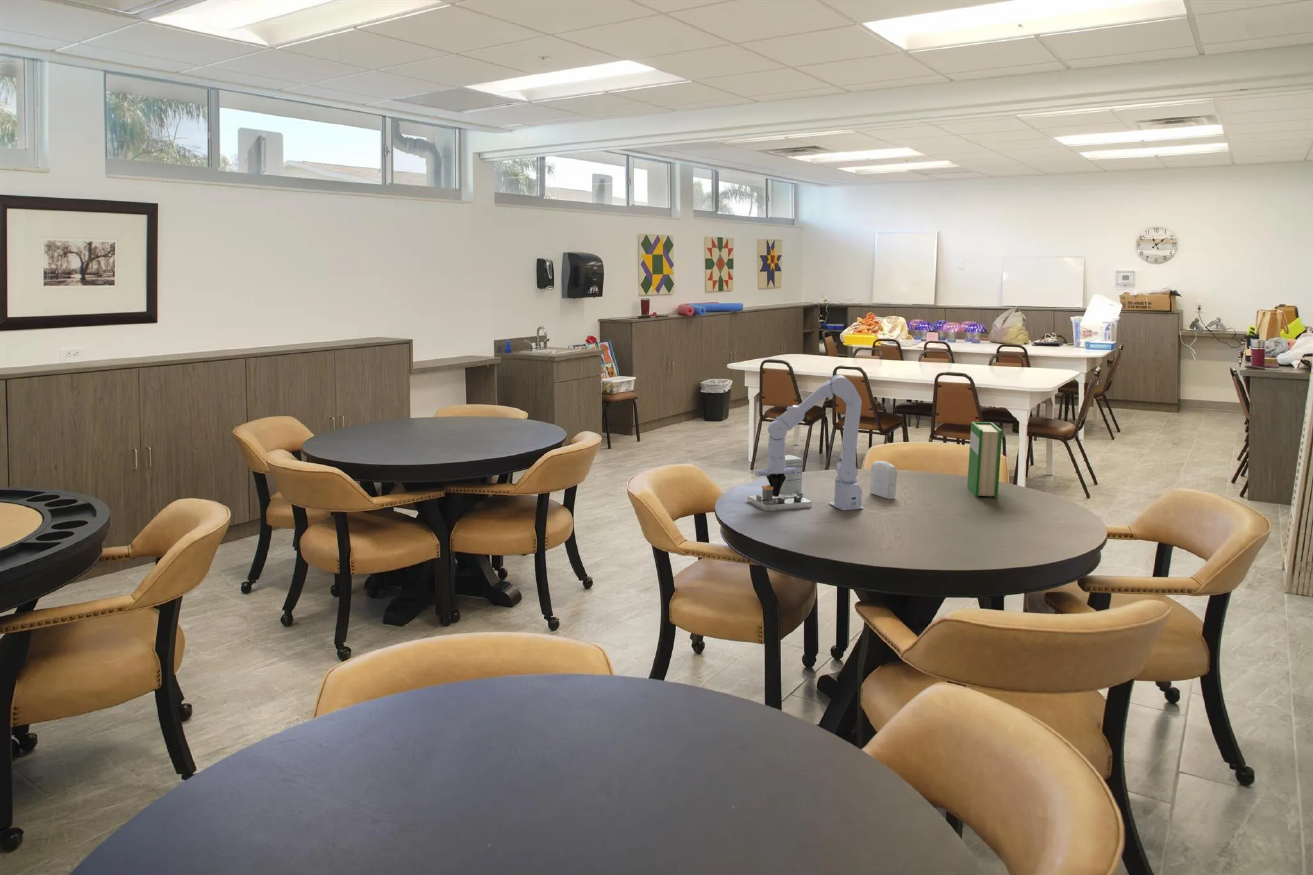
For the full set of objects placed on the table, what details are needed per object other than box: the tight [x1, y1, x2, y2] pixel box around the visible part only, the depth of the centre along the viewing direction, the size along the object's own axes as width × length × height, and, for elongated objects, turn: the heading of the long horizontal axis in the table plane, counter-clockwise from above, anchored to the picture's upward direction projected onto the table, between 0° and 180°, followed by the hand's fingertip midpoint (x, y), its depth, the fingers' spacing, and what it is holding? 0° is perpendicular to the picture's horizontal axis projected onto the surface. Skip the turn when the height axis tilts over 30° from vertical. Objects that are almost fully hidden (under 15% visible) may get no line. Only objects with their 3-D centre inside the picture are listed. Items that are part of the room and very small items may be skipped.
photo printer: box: [869, 460, 898, 500], centre depth 327 cm, size 10×4×12 cm, turn 28°
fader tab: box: [761, 484, 773, 500], centre depth 314 cm, size 3×3×4 cm
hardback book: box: [966, 421, 1003, 499], centre depth 332 cm, size 18×7×24 cm, turn 171°
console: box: [747, 491, 813, 512], centre depth 316 cm, size 14×17×4 cm
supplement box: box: [779, 454, 804, 494], centre depth 333 cm, size 7×7×13 cm
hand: (775, 496), depth 315 cm, fingers closed
